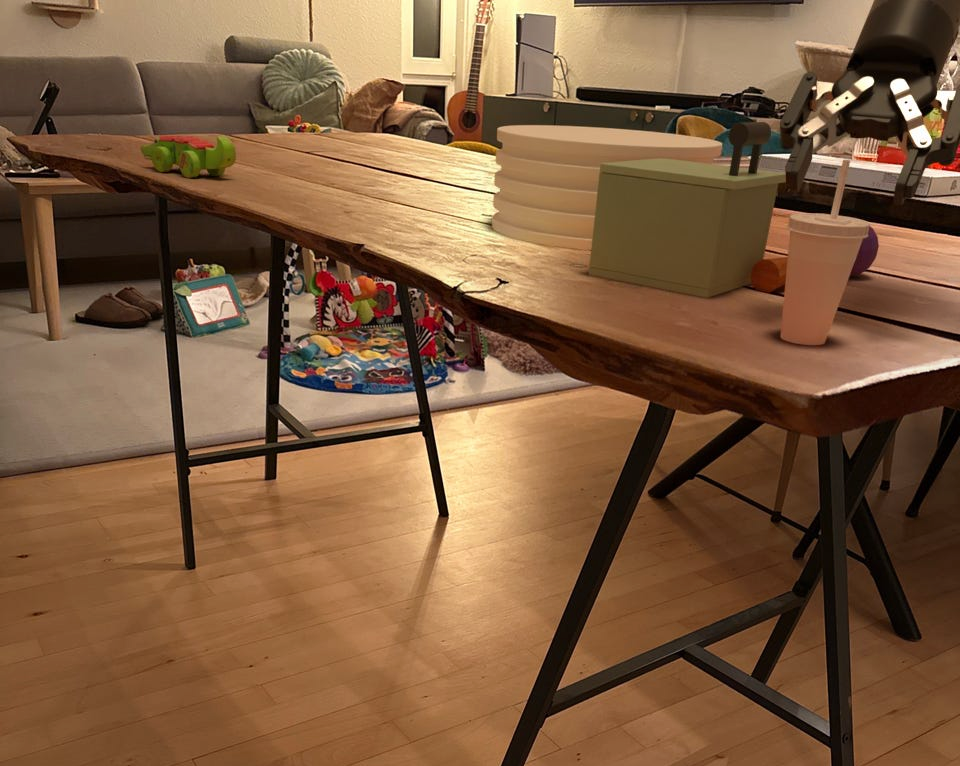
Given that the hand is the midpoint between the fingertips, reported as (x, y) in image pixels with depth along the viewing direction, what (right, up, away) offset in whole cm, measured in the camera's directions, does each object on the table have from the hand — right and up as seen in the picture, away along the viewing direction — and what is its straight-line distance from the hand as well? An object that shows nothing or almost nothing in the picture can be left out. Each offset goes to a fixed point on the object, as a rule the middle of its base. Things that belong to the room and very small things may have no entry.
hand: (844, 191), depth 79 cm
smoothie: (-2, -11, +3) cm, 12 cm away
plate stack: (-15, +16, +47) cm, 52 cm away
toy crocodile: (-77, +38, +77) cm, 115 cm away
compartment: (-9, +2, +24) cm, 25 cm away
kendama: (+6, +2, +26) cm, 27 cm away
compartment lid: (-8, +10, +18) cm, 22 cm away
